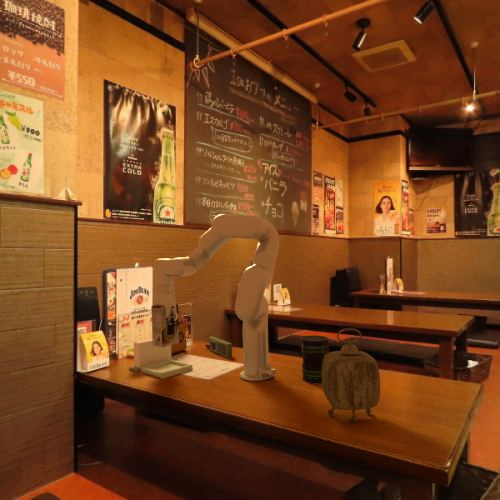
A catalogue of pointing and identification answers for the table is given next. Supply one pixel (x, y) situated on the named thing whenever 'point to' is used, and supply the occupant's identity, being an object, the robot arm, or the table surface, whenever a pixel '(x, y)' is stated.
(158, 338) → the coffee box
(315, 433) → the table surface
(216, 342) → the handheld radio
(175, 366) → the tray
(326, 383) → the tabletop clock
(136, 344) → the panel unit
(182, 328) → the coffee package
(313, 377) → the storage jar
